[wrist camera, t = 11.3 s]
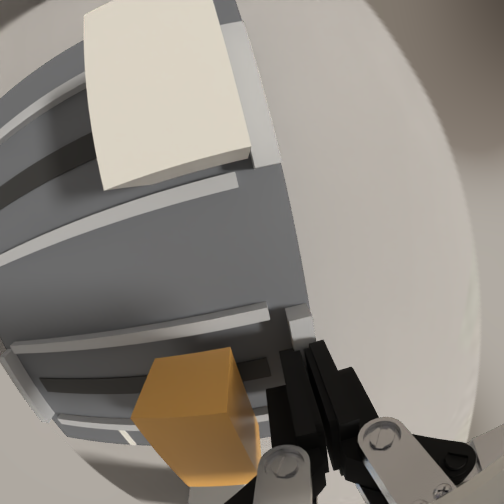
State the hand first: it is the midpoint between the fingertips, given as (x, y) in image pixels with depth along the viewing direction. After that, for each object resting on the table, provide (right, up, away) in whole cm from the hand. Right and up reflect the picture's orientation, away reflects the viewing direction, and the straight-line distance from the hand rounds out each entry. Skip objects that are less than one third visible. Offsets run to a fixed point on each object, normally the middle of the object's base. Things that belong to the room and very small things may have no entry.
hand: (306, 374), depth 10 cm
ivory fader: (-4, +9, -2) cm, 10 cm away
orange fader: (-4, -1, +1) cm, 4 cm away
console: (-9, +4, +2) cm, 10 cm away
